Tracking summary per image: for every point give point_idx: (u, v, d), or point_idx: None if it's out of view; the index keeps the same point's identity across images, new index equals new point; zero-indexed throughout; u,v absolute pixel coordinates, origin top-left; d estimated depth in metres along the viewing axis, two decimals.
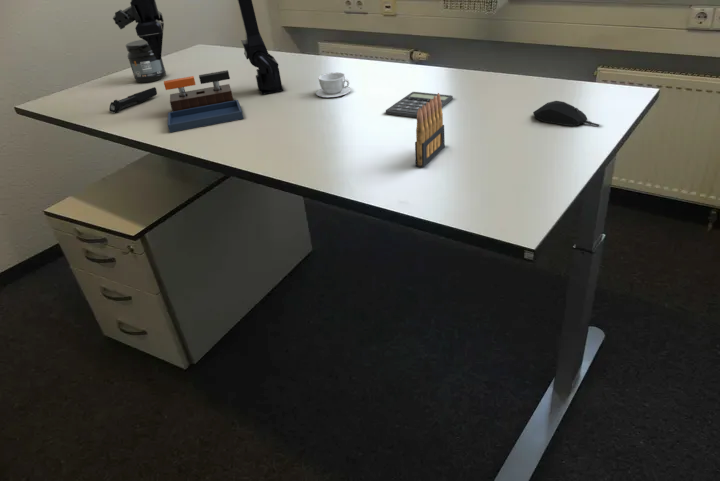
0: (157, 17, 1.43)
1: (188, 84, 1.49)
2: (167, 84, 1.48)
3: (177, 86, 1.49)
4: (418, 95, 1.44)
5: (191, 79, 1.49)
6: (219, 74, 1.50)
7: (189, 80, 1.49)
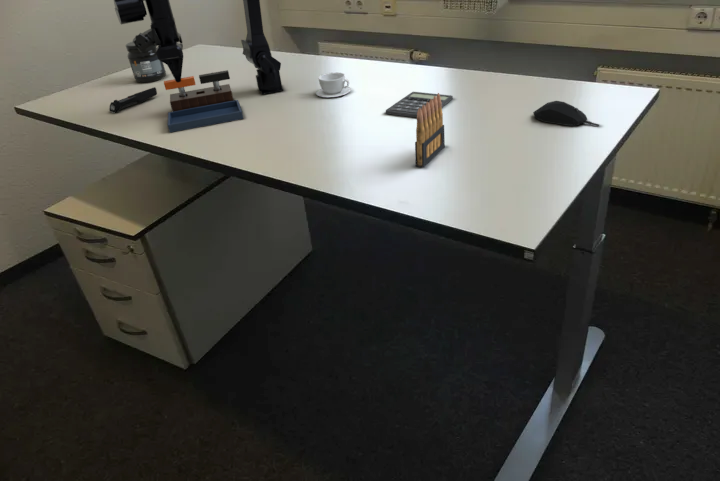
0: (177, 40, 1.42)
1: (188, 84, 1.49)
2: (167, 84, 1.48)
3: (177, 86, 1.49)
4: (418, 95, 1.44)
5: (191, 79, 1.49)
6: (219, 74, 1.50)
7: (189, 80, 1.49)
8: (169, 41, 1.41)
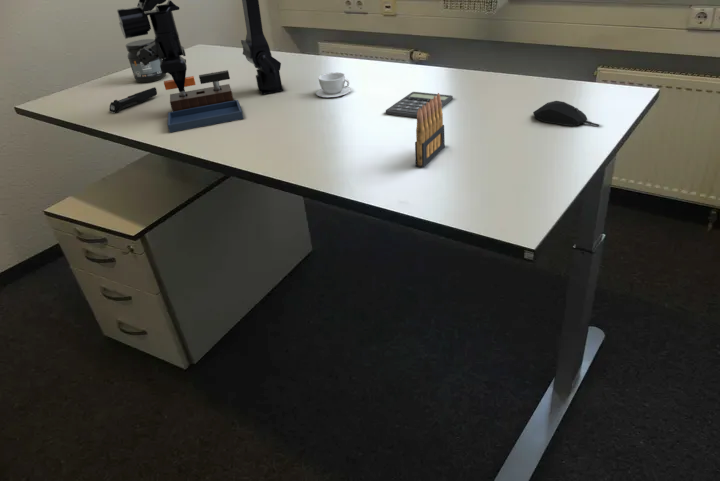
0: (181, 53, 1.43)
1: (188, 84, 1.49)
2: (167, 84, 1.48)
3: None
4: (418, 95, 1.44)
5: (191, 79, 1.49)
6: (219, 74, 1.50)
7: (189, 80, 1.49)
8: (173, 55, 1.43)
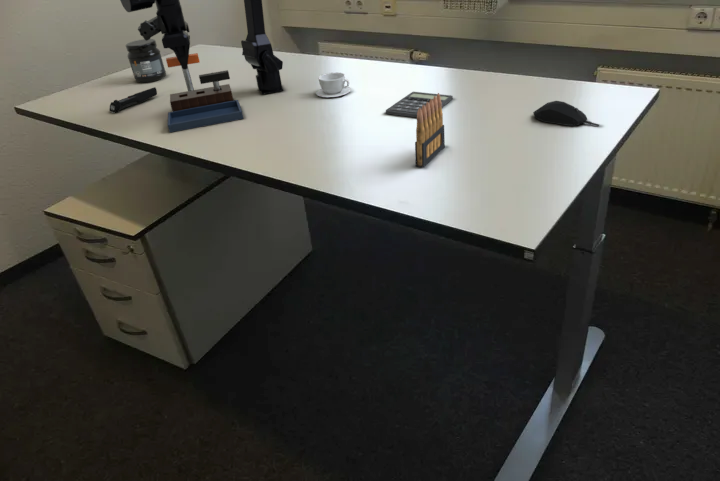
0: (184, 28, 1.36)
1: (192, 61, 1.41)
2: (170, 61, 1.40)
3: None
4: (418, 95, 1.44)
5: (195, 56, 1.41)
6: (219, 74, 1.50)
7: (193, 57, 1.41)
8: (175, 29, 1.35)
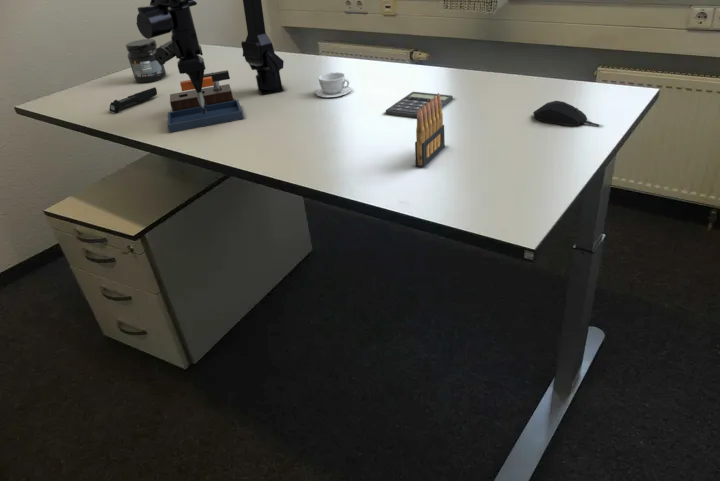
0: (199, 52, 1.36)
1: (206, 85, 1.41)
2: (184, 85, 1.40)
3: None
4: (418, 95, 1.44)
5: (209, 79, 1.41)
6: (219, 74, 1.50)
7: (207, 80, 1.41)
8: (190, 54, 1.35)
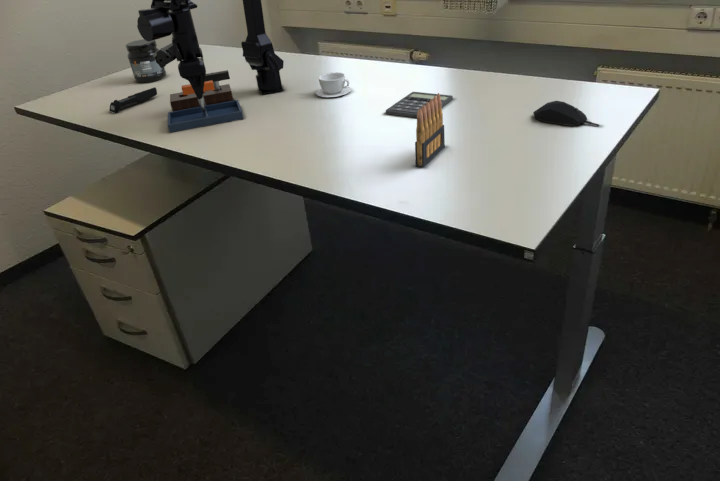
0: (199, 55, 1.36)
1: (207, 89, 1.42)
2: (185, 89, 1.40)
3: None
4: (418, 95, 1.44)
5: (210, 84, 1.41)
6: (219, 74, 1.50)
7: (208, 85, 1.41)
8: (191, 56, 1.35)
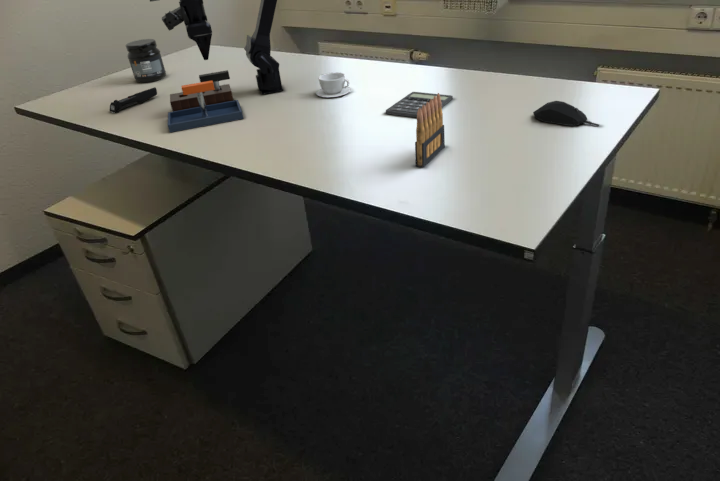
0: (205, 18, 1.45)
1: (207, 89, 1.42)
2: (185, 89, 1.40)
3: (195, 91, 1.41)
4: (418, 95, 1.44)
5: (210, 84, 1.41)
6: (219, 74, 1.50)
7: (208, 85, 1.41)
8: (197, 19, 1.44)
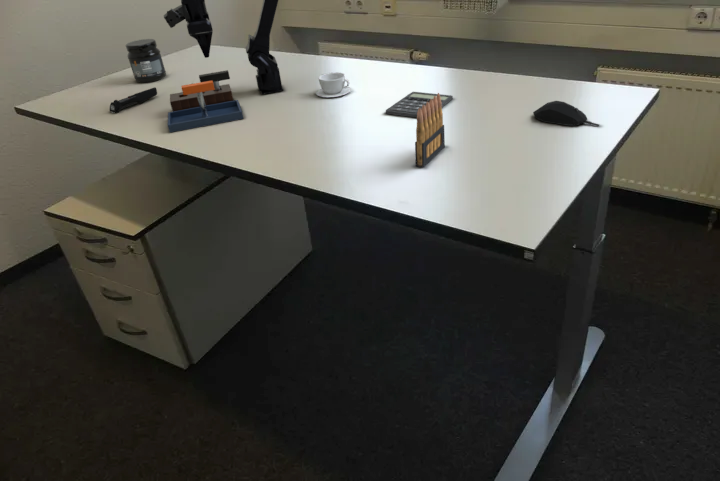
0: (206, 16, 1.47)
1: (207, 89, 1.42)
2: (185, 89, 1.40)
3: (195, 91, 1.41)
4: (418, 95, 1.44)
5: (210, 84, 1.41)
6: (219, 74, 1.50)
7: (208, 85, 1.41)
8: (198, 17, 1.46)
